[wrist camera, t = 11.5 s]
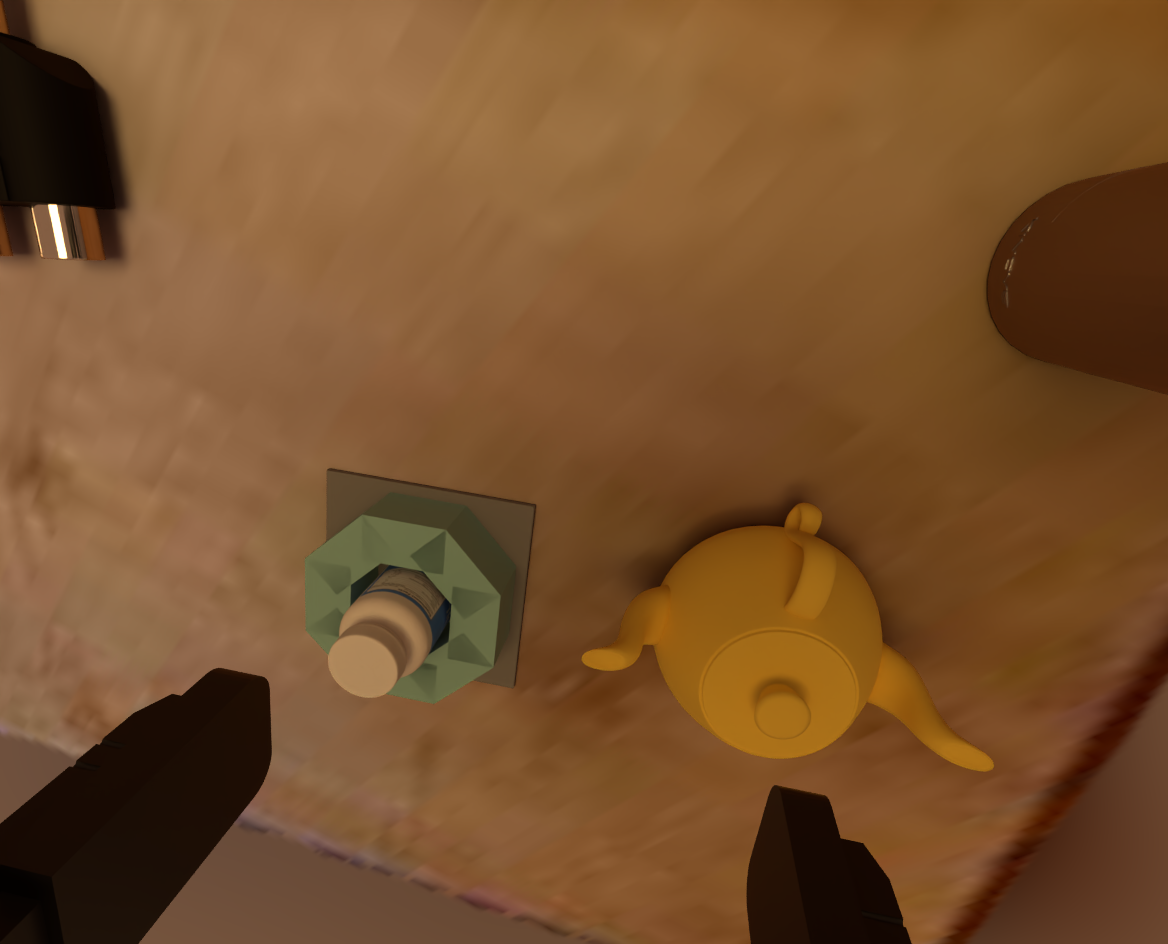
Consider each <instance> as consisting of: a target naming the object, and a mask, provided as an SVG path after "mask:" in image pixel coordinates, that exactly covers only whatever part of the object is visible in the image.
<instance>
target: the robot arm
mask: <svg viewBox="0 0 1168 944" xmlns="http://www.w3.org/2000/svg"><path fill="white" fill-rule="evenodd" d="M988 303H989V307H990V312H991V316H992V318H993V320H994V322H995V324H996V326H997V328H998V330H999V332H1000V333H1001V334H1002V335H1003V336H1004V338H1005V339H1006V340H1007V341H1008V342H1009V343H1010V344H1011V345H1012V346H1013V347H1015V348H1016V349H1018V350H1019V351H1021V352H1022V353H1024V354H1026V355H1028V356H1030V357H1033V358H1036V359H1039V360H1041V361H1044V362H1048V363H1052V364H1056V365H1059V366H1063V367H1067V368H1070V369H1074V370H1078V371H1081V372H1084V373H1088V374H1091V375H1095V376H1099V377H1103V378H1107V379H1110V380H1114V381H1118V382H1122V383H1125V384H1129V385H1133V386H1137V387H1140V388H1144V389H1148V390H1152V391H1156V392H1159V393H1163V394H1167V395H1168V162H1167V163H1162V164H1157V165H1152V166H1147V167H1141V168H1136V169H1131V170H1126V171H1121V172H1116V173H1112V174H1107V175H1102V176H1097V177H1092V178H1088V179H1084V180H1081V181H1077V182H1074V183H1070V184H1067V185H1065V186H1063V187H1061V188H1059V189H1057V190H1055V191H1053V192H1051V193H1049V194H1047V195H1045V196H1044V197H1043V198H1041V199H1040V200H1038V201H1037V202H1036V203H1034V204H1033V205H1032V206H1030V207H1029V208H1028V209H1027V210H1026V211H1025V212H1024V213H1023V214H1022V215H1021V216H1020V217H1019V218H1018V219H1017V220H1016V221H1015V222H1014V223H1013V224H1012V226H1011V227H1010V228H1009V230H1008V231H1007V233H1006V234H1005V236H1004V237H1003V239H1002V240H1001V242H1000V244H999V246H998V248H997V251H996V253H995V255H994V258H993V260H992V263H991V267H990V272H989V277H988ZM271 755H272V745H271V714H270V688H269V683H268V681H267V679H266V678H265V677H262V676H257V675H252V674H247V673H243V672H238V671H233V670H228V669H223V668H216V669H213V670H211V671H210V672H208V673H207V674H206V675H205V676H204V677H202V678H201V679H200V680H199V681H198V682H197V683H196V684H194V685H193V686H192V687H191V688H190V689H189V690H188V691H186V692H185V693H184V694H183V695H182V696H180V695H175V694H171V695H169V696H167V697H165V698H163V699H161V700H159V701H157V702H155V703H153V704H151V705H149V706H147V707H145V708H143V709H141V710H139V711H137V712H135V713H133V714H132V715H131V716H130V717H128V718H127V719H126V720H125V721H124V722H122V723H121V724H120V725H119V726H118V727H116V728H115V729H114V730H113V731H112V732H110V733H109V734H108V735H107V736H106V737H104V738H103V740H102V743H101V744H100V745H98V744H96V745H95V746H93V747H92V748H91V749H90V750H89V751H87V752H86V753H85V754H84V755H83V756H81V757H80V758H79V759H78V760H77V761H76V764H75V765H74V766H73V767H68V768H67V769H66V770H65V771H63V772H62V773H61V774H60V775H58V776H57V777H56V778H55V779H54V780H52V781H51V782H50V783H49V784H48V785H46V786H45V787H44V788H43V789H42V790H40V791H39V792H38V793H37V794H36V795H34V796H33V797H32V798H31V799H30V800H28V801H27V802H26V803H25V804H24V805H22V806H21V807H20V808H19V809H18V810H16V811H15V812H14V813H13V814H11V815H10V816H9V817H8V818H7V819H6V820H4V821H3V822H2V823H1V824H0V944H138V943H139V942H140V941H141V940H142V938H143V937H144V936H145V934H146V933H147V932H148V931H149V930H150V928H151V927H152V926H153V925H154V923H155V922H156V921H157V919H158V918H159V917H160V915H161V914H162V913H163V912H164V911H165V909H166V908H167V906H169V904H170V903H171V902H172V900H173V899H174V898H175V897H176V895H177V894H178V893H179V892H180V890H181V889H182V888H183V886H184V885H185V884H186V883H187V881H188V880H189V879H190V878H191V876H192V875H193V874H194V873H195V871H196V870H197V869H198V868H199V866H200V865H201V864H202V862H203V861H204V860H205V859H206V857H207V856H208V855H209V854H210V852H211V851H212V850H213V849H214V847H215V846H216V845H217V844H218V842H219V841H220V840H221V838H222V837H223V836H224V835H225V833H226V832H227V831H228V830H229V828H230V827H231V826H232V825H233V823H234V822H235V821H236V820H237V818H238V817H239V816H240V814H241V813H242V812H243V811H244V809H245V808H246V807H247V806H248V804H249V803H250V802H251V801H252V799H253V798H254V797H255V795H256V794H257V792H258V791H259V789H260V788H261V786H262V784H263V782H264V780H265V777H266V775H267V772H268V769H269V766H270V761H271ZM747 912H748V921H749V931H750V940H751V944H912V943H911V940H910V938H909V935H908V932H907V929H906V927H903V917H902V914H901V911H900V909H899V906H898V903H897V900H896V897H895V894H894V891H893V888H892V885H891V883H890V880H889V878H888V877H887V875H886V874H885V873H884V871H883V870H882V869H881V867H880V866H879V864H878V863H877V862H876V860H875V859H874V858H873V856H872V855H871V853H870V852H869V851H868V849H867V848H866V847H865V845H864V844H863V843H860V842H855V841H850V840H846V839H841V838H840V834H839V831H838V827H837V824H836V820H835V817H834V813H833V810H832V806H831V804H830V801H829V799H828V798H827V797H826V796H825V795H820V794H816V793H811V792H806V791H801V790H796V789H792V788H787V787H782V786H777V785H774V786H773V787H772V789H771V791H770V793H769V796H768V800H767V803H766V806H765V810H764V813H763V817H762V820H761V824H760V827H759V831H758V834H757V838H756V841H755V844H754V848H753V851H752V855H751V859H750V863H749V869H748V877H747Z"/></svg>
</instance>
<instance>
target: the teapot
mask: <svg viewBox="0 0 1168 944" xmlns="http://www.w3.org/2000/svg"><path fill="white" fill-rule="evenodd" d="M821 521H822V512H821V511H820V509H819V508H817V507H816V506H814V505H812V504H810V503H800V504H797V505H796V506H795V507H794V508H793V509H792V510H791V511H790V513H789V514H788V516H787V519H786V521H785V526H784V527H779V526H764V525H763V526H747V527H741V528H736V529H732V530H728V531H725V532H722V533H719V534H717V535H714V536H712V537H710V538H707V539H706V540H704V541H702V542H701V543H699V544H697V545H696V546H694V547H693V548H692V549H691V550H689V551H688V552H687V553H685V554H684V555H683V556H682V557H681V558H680V559H679V560H678V561H677V562H676V563H675V564H674V566H673V567H672V568H671V570H670V571H669V572H668V574H667V575H666V577H665V578H664V580H663V582H662V584H661V586H660V587H655V588H651V589H648V590H646V591H643V592H641V593H640V594H639V595H638V596H636V597H635V598H634V599H633V600H632V602H631V603H630V604H629V606H628V608H627V609H626V611H625V614H624V616H623V619H622V622H621V626H620V631H619V636H618V638H617V640H616V641H615V642H614V643H613V644H611V645H609V646H605V647H601V648H596V649H593V650H590V651H587V652H586V653H584V654H583V656H582V662H583V663H584V664H585V665H587V666H589V667H591V668H594V669H599V670H606V671H614V670H621V669H624V668H627V667H629V666H631V665H632V664H633V663H635V661H636V660H637V659H638V658H639V656H640V654H641V651H642V647H643V645H654V649H655V653H656V657H657V661H658V664H659V667H660V669H661V672H662V674H663V677H664V679H665V681H666V683H667V685H668V687H669V688H670V690H671V692H672V693H673V695H674V696H675V698H676V699H677V701H678V702H679V703H680V705H681V706H682V707H683V708H684V710H685V711H686V712H687V713H688V714H690V715H691V716H692V717H693V718H694V719H695V720H696V721H697V722H698V723H699V724H700V725H701V726H703V727H704V728H705V729H706V730H708V731H709V732H710V733H712V734H713V735H714V736H716V737H717V738H719V739H720V740H722V741H723V742H725V743H727V744H728V745H730V746H733V747H735V748H737V749H739V750H741V751H744V752H746V753H749V754H752V755H756V756H760V757H765V758H775V759H786V758H795V757H800V756H805V755H808V754H811V753H814V752H816V751H818V750H821V749H823V748H824V747H826V746H828V745H829V744H831V743H832V742H834V741H835V740H836V739H837V738H839V737H840V736H841V735H842V734H843V733H844V732H845V731H846V730H847V729H848V728H849V727H850V726H851V724H852V723H853V722H854V720H855V719H856V718H857V716H858V715H859V713H860V712H861V710H862V709H863V707H864V706H865V704H866V702H869V703H872V704H874V705H876V706H878V707H880V708H882V709H884V710H886V711H887V712H889V713H891V714H892V715H894V716H895V717H896V718H898V719H899V720H900V721H901V722H902V723H904V724H905V725H906V726H907V727H908V729H909V730H910V731H911V732H912V733H913V734H914V735H915V736H916V737H917V738H918V739H919V740H920V741H921V742H922V743H924V744H925V745H926V746H927V747H928V748H930V749H931V750H932V751H934V752H935V753H937V754H938V755H939V756H941V757H942V758H944V759H946V760H948V761H950V762H952V763H954V764H956V765H959V766H961V767H964V768H967V769H971V770H976V771H989V770H992V769H993V768H994V763H993V761H992V759H991V758H990V757H989V756H988V755H987V754H985V753H984V752H983V751H981V750H980V749H978V748H977V747H975V746H974V745H972V744H971V743H969V742H968V741H966V740H965V739H963V738H962V737H960V736H959V735H958V734H956V733H955V732H954V731H953V730H952V729H951V728H950V727H949V726H948V725H947V724H946V722H945V721H944V720H943V719H942V717H941V716H940V714H939V712H938V711H937V709H936V707H935V705H934V703H933V701H932V699H931V697H930V695H929V692H928V690H927V688H926V686H925V684H924V682H923V680H922V678H921V676H920V675H919V673H918V672H917V670H916V669H915V667H914V666H913V665H912V664H911V663H910V662H909V661H908V660H907V659H906V658H905V657H903V656H902V655H901V654H900V653H898V652H897V651H896V650H894V649H893V648H891V647H890V646H888V645H887V644H885V643H884V642H882V628H881V621H880V615H879V610H878V607H877V604H876V601H875V598H874V596H873V593H872V591H871V589H870V587H869V585H868V583H867V581H866V579H865V578H864V576H863V575H862V573H861V572H860V570H859V569H858V568H857V567H856V565H855V564H854V563H853V562H852V561H851V560H850V559H849V558H848V557H847V556H846V555H844V554H843V553H842V552H841V551H840V550H838V549H837V548H835V547H834V546H832V545H831V544H829V543H827V542H826V541H824V540H822V539H820V538H818V537H816V536H814V535H815V534H816V533H817V531H818V529H819V527H820V524H821Z"/></svg>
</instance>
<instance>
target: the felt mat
mask: <svg viewBox="0 0 1168 944" xmlns="http://www.w3.org/2000/svg"><path fill="white" fill-rule="evenodd" d="M390 492H392V493H398V494H403V495H409V496H414V497H420V498H426V499H431V500H437V501H443V502H448V503H454V504H459V505H465V506H467V507H468V508H469V509H470V510H471V512H472V513H473V514H474V515H475V516H476V518H477V519H478V520H479V521H480V523H481V524H482V525H483V526H484V527H485V529H486V530H487V531H488V532H489V534H490V535H491V536H492V537H493V538H494V540H495V541H496V542H497V543H498V545H499V546H500V547H501V548H502V549H503V551H504V552H505V553H506V554H507V556H508V557H509V558H510V559H511V560H512V562H513V563H514V564H515V565H516V573H515V583H514V592H513V601H512V610H511V619H510V628H509V634H508V637H507V639H506V641H505V643H504V646H503V648H502V650H501V652H500V654H499V657H498V659H497V661H496V663H495V665H494V668H492V669H490V670H489V671H487V672H486V673H484V674H482V675H481V676H479V677H477V678H476V679H474V681H479V682H484V683H489V684H494V685H499V686H504V687H509V688H514V686H515V679H516V670H517V662H518V653H519V644H520V636H521V627H522V619H523V610H524V601H525V593H526V584H527V575H528V567H529V558H530V550H531V541H532V532H533V524H534V515H535V507H536V505H535V504H529V503H523V502H518V501H512V500H506V499H501V498H495V497H489V496H484V495H478V494H472V493H467V492H461V491H455V490H450V489H444V488H438V487H432V486H427V485H421V484H415V483H410V482H404V481H398V480H393V479H387V478H381V477H376V476H370V475H364V474H359V473H353V472H347V471H342V470H336V469H328V470H327V541H328V540H329V539H330V538H331V537H333V536H334V535H335V534H336V533H338V532H339V531H340V530H342V529H343V528H344V527H346V526H347V525H348V524H350V523H351V522H352V521H353V520H355V519H356V518H357V517H359V516H360V515H361V514H363V513H364V512H365V511H367V510H368V509H369V508H370V507H372V506H373V505H374V504H376V503H377V502H378V501H380V500H381V499H382V498H384V497H385V496H386V495H387V494H389V493H390ZM387 566H388V565H387V564H382V563H381V564H379V566H378V576H379V575H380V574H381V573H382V572H383V570H384V569H385V568H386V567H387ZM449 622H450V620H449Z"/></svg>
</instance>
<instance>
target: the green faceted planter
mask: <svg viewBox="0 0 1168 944" xmlns="http://www.w3.org/2000/svg"><path fill="white" fill-rule="evenodd" d="M381 563H382V564H387V565H392V566H398V567H403V568H408V569H414V570H419V571H423V572H424V573H425V574H426V575H427V576H428V578H429V579H430V580H431V581H432V582H433V583H434V585H435V586H436V587H437V588H438V589H439V590H440V592H441V593H442V594H443V595H444V596H445V597H446V599H447V600H448V601H449V602H450V603H451V617H450V622H448V623H447V625H446V627H445V628H444V630H443V631H442V633H441V635H440V636H439V638H438V640H437V641H436V643H435V644H434V646H433V648H432V649H431V651H430V653H429V654H428V656H427V657H426V659H425V660H424V662H423V663H422V665H421V666H420V667H419V668H418V669H417V670H416V671H414V672H413V673H411V674H409V675H407V676H405V677H402V678H400V679H399V680H398V681H397V683H396V684H395V685H394V687H393V688H392V689H391V690H390V691H389V692H387V693H386V694H389V695H394V696H398V697H403V698H408V699H413V700H418V701H423V702H427V703H432V704H435V703H436V702H438V701H440V700H441V699H443V698H445V697H446V696H448V695H450V694H451V693H453V692H454V691H456V690H458V689H459V688H461V687H463V686H464V685H466V684H468V683H469V682H471V681H472V680H474V679H476V678H477V677H479V676H481V675H482V674H484V673H486V672H487V671H489V670H490V669H492V668H494V665H495V663H496V661H497V659H498V657H499V654H500V652H501V650H502V648H503V646H504V643H505V641H506V639H507V637H508V634H509V628H510V619H511V610H512V601H513V592H514V583H515V573H516V565H515V564H514V563H513V562H512V560H511V559H510V558H509V557H508V556H507V554H506V553H505V552H504V551H503V549H502V548H501V547H500V546H499V545H498V543H497V542H496V541H495V540H494V538H493V537H492V536H491V535H490V534H489V532H488V531H487V530H486V529H485V527H484V526H483V525H482V524H481V523H480V521H479V520H478V519H477V518H476V516H475V515H474V514H473V513H472V512H471V510H470V509H469V508H468V507H467V506H465V505H459V504H454V503H448V502H443V501H437V500H431V499H426V498H420V497H414V496H409V495H403V494H398V493H392V492H390V493H389V494H387V495H386V496H385V497H384V498H382V499H381V500H380V501H378V502H377V503H376V504H374V505H373V506H372V507H370V508H369V509H368V510H367V511H365V512H364V513H363V514H361V515H360V516H359V517H357V518H356V519H355V520H353V521H352V522H351V523H350V524H348V525H347V526H346V527H344V528H343V529H342V530H340V531H339V532H338V533H336V534H335V535H334V536H333V537H331V538H330V539H329V540H328V541H326V542H325V543H324V544H323V545H321V546H320V547H319V548H317V549H316V550H315V551H314V552H312V553H311V554H310V555H309V556H307V557H306V558H305V608H306V631H307V632H308V633H309V634H310V635H311V637H312V638H313V639H314V640H315V641H316V642H317V643H318V644H319V645H320V646H321V648H322V649H323V650H324V651H325V652H326V653H327V654H328V655H329V652H330V649H331V647H332V646H333V644H334V643H335V642H336V640H337V639H338V638H339V629H340V623H341V620H342V618H343V616H344V614H345V612H346V611H347V610H348V609H349V607H350V606H351V605H352V604H353V603H354V602H355V601H356V600H357V599H358V598H359V597H360V596H361V594H362V593H363V592H364V591H365V590H366V589H367V588H368V587H369V586H370V585H371V584H372V583H373V582H374V580H375V579H376V578H377V577H378V566H379V564H381Z"/></svg>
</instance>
